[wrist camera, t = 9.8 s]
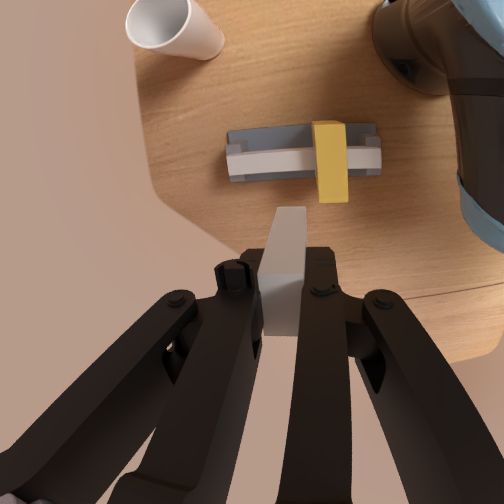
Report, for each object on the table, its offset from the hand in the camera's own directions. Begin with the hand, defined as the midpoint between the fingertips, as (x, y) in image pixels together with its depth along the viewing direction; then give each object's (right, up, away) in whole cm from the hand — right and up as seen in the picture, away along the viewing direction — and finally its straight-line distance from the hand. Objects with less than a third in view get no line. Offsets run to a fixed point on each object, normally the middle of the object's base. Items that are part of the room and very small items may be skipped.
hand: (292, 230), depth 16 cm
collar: (+7, +11, +19) cm, 23 cm away
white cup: (-8, +26, +16) cm, 32 cm away
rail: (+5, +12, +21) cm, 25 cm away
